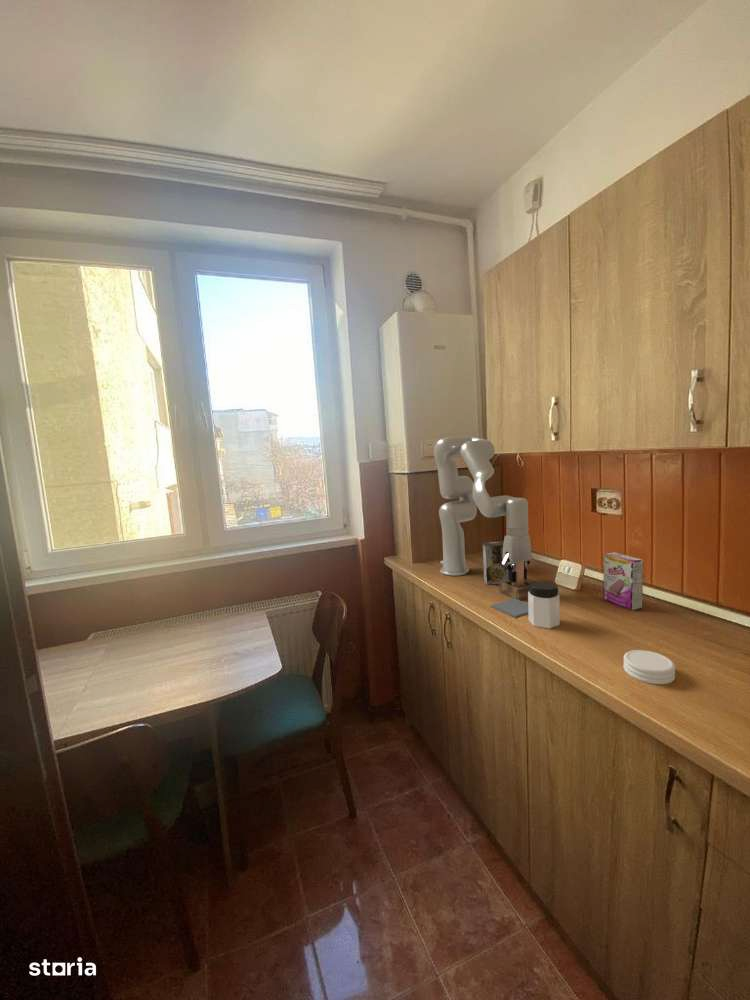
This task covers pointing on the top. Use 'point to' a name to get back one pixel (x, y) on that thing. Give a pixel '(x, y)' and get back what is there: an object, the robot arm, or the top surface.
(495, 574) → the coffee box
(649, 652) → the coaster
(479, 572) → the top surface
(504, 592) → the brown square box
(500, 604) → the mat
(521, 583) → the peg
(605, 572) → the candy bar box
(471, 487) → the robot arm
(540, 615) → the jar
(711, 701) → the top surface
